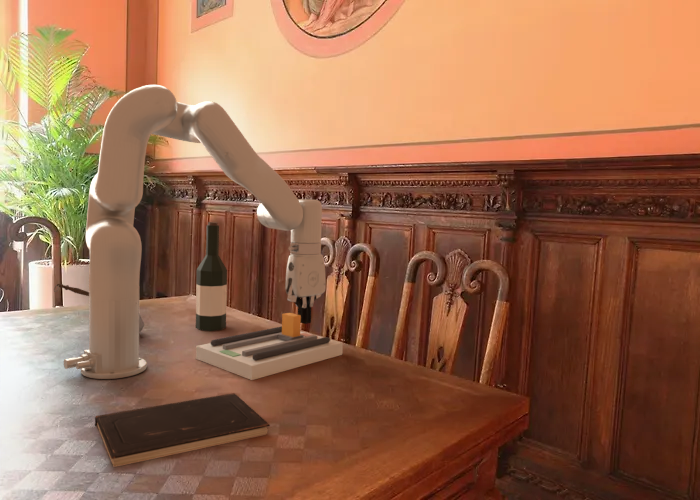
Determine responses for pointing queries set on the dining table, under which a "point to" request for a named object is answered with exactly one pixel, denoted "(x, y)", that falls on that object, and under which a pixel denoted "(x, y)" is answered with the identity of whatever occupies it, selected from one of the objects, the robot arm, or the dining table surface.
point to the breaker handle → (290, 327)
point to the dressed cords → (274, 351)
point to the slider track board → (241, 362)
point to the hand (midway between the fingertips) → (304, 322)
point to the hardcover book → (177, 428)
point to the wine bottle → (211, 285)
